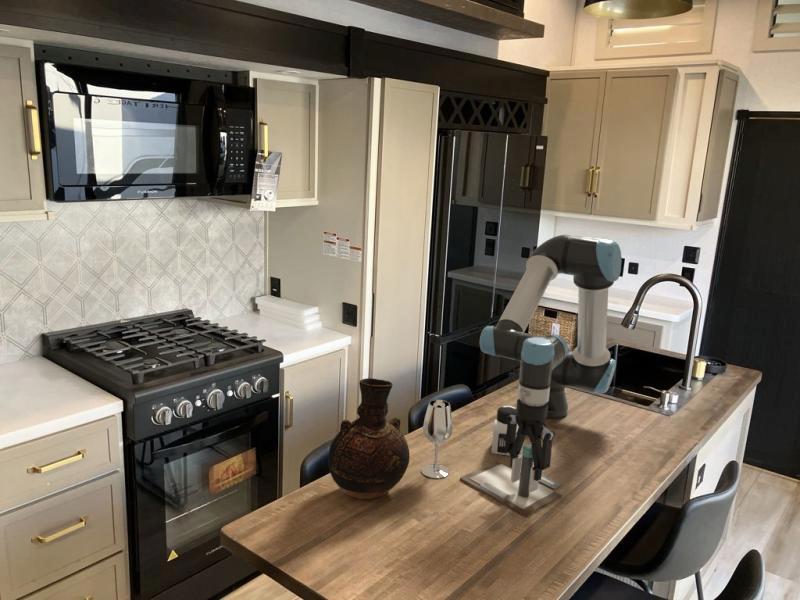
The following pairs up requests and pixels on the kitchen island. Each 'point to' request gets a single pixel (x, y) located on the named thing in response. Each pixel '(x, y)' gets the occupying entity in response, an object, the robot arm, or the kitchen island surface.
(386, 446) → the ceramic vessel
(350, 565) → the kitchen island surface
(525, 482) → the marker
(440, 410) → the wineglass
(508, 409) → the container
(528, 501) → the clipboard
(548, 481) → the plate
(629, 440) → the kitchen island surface
